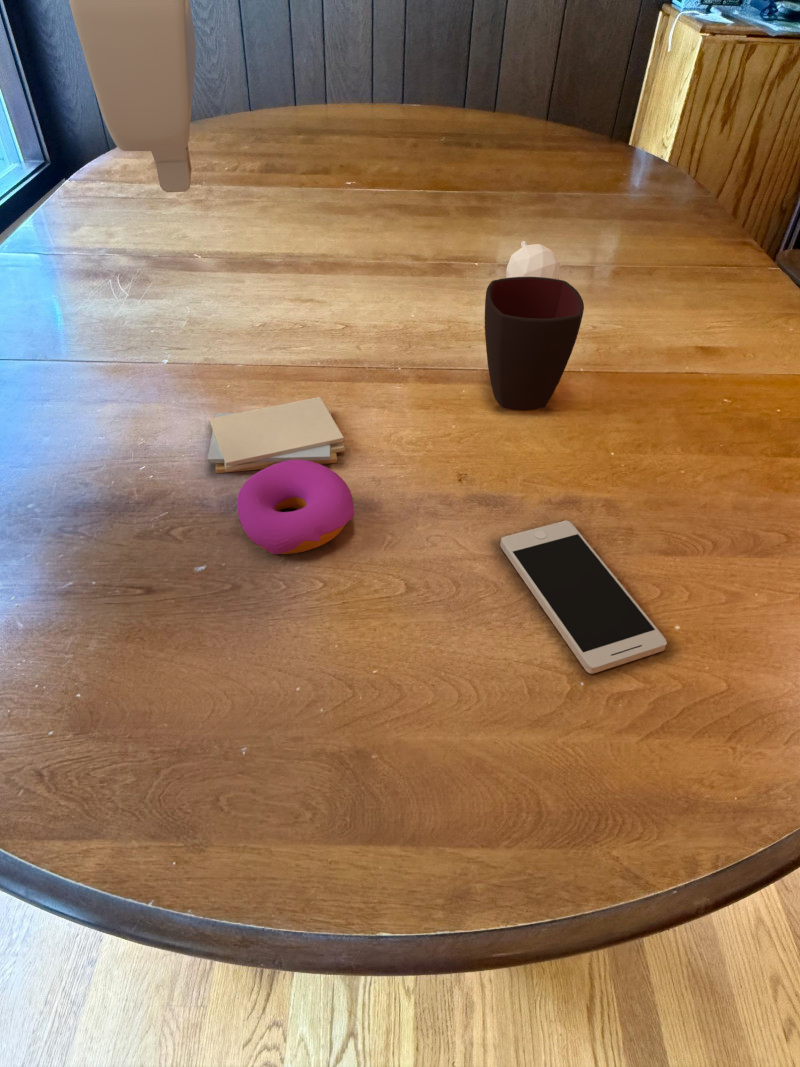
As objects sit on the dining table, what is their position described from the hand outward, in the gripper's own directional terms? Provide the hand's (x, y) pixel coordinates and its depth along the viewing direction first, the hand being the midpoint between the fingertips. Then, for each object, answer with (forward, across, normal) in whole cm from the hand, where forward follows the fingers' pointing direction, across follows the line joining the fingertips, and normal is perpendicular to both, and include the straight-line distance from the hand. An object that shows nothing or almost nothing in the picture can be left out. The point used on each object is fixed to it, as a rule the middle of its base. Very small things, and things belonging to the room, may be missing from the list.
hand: (177, 184), depth 48 cm
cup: (+31, -22, +32) cm, 50 cm away
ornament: (+31, -44, +40) cm, 67 cm away
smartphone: (+31, +10, +28) cm, 43 cm away
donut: (+31, -2, +5) cm, 32 cm away
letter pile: (+31, -15, +4) cm, 35 cm away
